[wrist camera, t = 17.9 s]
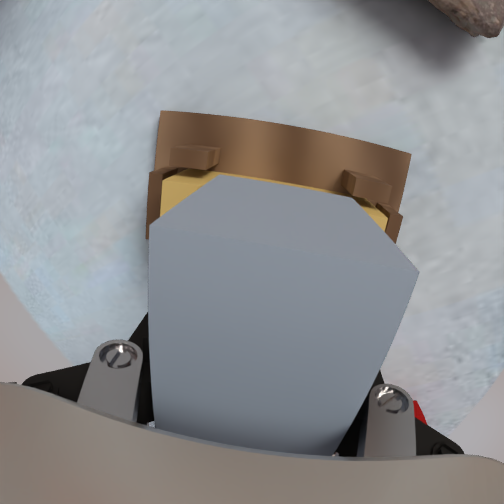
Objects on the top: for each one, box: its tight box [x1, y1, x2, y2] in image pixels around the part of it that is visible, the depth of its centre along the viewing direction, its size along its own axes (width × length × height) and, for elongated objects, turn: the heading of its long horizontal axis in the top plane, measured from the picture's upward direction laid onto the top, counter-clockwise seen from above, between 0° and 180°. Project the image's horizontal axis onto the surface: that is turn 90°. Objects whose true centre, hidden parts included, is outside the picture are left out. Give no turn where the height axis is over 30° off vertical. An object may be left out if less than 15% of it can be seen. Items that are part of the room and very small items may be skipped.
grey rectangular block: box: [148, 174, 419, 456], centre depth 10 cm, size 4×10×6 cm, turn 172°
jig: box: [146, 111, 411, 244], centre depth 24 cm, size 20×14×6 cm
